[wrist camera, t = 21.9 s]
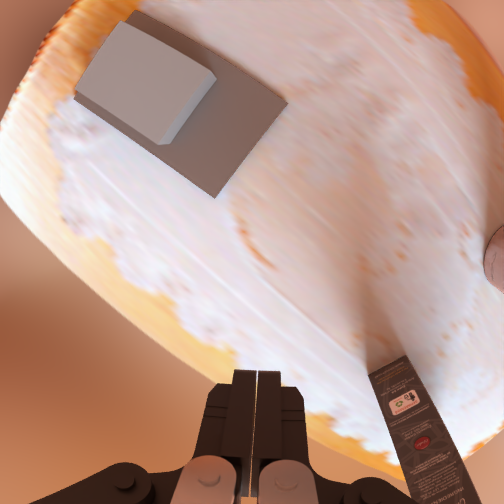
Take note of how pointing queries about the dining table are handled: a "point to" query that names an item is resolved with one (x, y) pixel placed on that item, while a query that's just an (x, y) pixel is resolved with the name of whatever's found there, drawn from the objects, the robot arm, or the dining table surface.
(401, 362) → the cake mix box
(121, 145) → the dining table surface
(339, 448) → the dining table surface
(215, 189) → the slate board
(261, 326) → the dining table surface
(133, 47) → the slab
